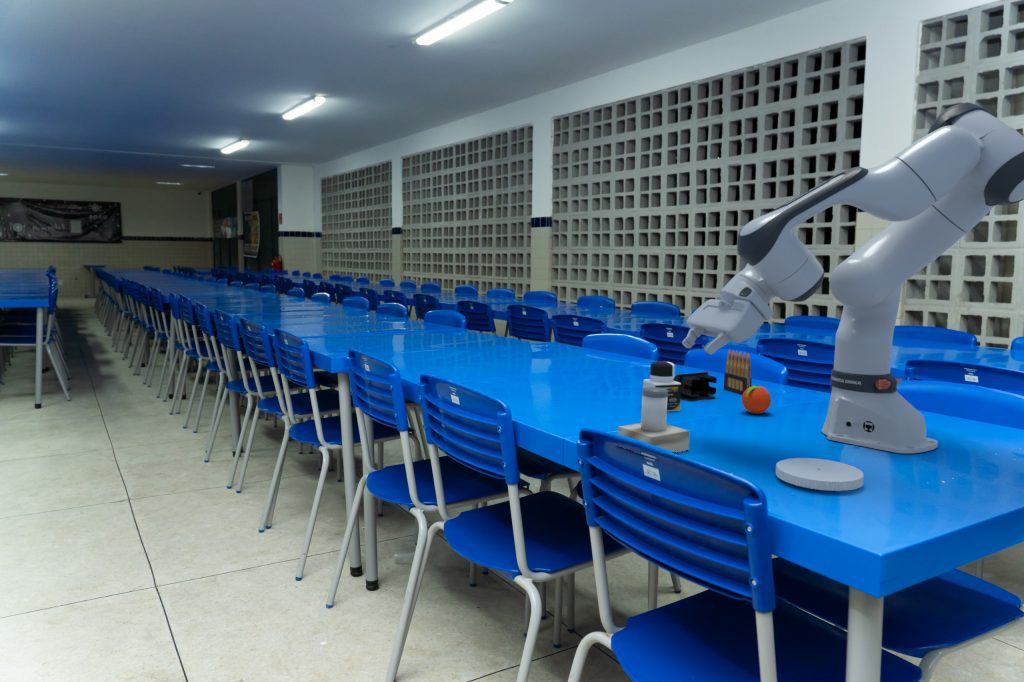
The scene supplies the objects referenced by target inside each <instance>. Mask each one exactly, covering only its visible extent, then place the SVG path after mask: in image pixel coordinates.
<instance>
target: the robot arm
mask: <svg viewBox="0 0 1024 682" xmlns="http://www.w3.org/2000/svg"><path fill="white" fill-rule="evenodd" d="M1022 201H1024V136H1023V135H1022V134H1021V133H1020V132H1019V131H1017V130H1016V129H1015V128H1014V127H1013V126H1009V125H1008V124H1007V123H1005V122H1003V121H1002V120H1001V119H999V118H997V117H995V116H994V115H992V114H991V113H989V112H988V111H987V110H986V108H984V107H982V106H980V105H978V104H975V103H972V102H962V103H958V104H954V105H952V106H949V107H948V108H946V109H945V110H943V111H942V112H941V113H940V114H939V115H938V116H936V118H935V120H933V122H932V123H931V124H930V127H929V129H928V132H927V134H926V135H924V136H923V137H921V138H919V139H918V140H916V141H915V142H913V143H911V144H910V145H908V146H907V147H905V148H904V149H902V150H901V151H900V152H899V153H897V154H895V156H894V157H892V158H890V159H889V160H887V161H886V162H884V163H882V164H879V165H878V166H874V167H870V168H865V167H863V166H855V167H850V168H848V169H845V170H843V171H842V172H839V173H837V174H835V175H833V176H831V177H830V178H828V179H826V180H824V181H822V182H821V183H819V184H817V185H815V186H814V187H812V188H810V189H808V190H807V191H805V192H803V193H802V194H801V193H800V194H799V195H798V196H796V197H794V198H792V199H791V200H789V201H787V202H786V203H784V204H782V205H780V206H779V207H777V208H775V209H772V210H770V211H767V212H766V213H763V214H762V215H759V216H758V217H755V218H754V219H751V220H750V221H749V222H748V223H746V224H745V225H744V226H743V227H742V228H741V229H740V230H739V231H738V236H737V240H736V248H737V249H736V250H737V255H738V256H739V257H741V259H743V260H744V261H745V262H746V264H745V267H744V268H743V269H742V270H741V271H739V272H737V273H736V274H735V275H734V276H733V277H732V278H731V279H729V281H728V282H727V283H726V285H724V287H723V288H722V289H721V290H720V291H719V293H718V295H719V297H716V298H715V299H713V298H710V299H707V300H706V301H704V302H703V303H702V304H701V305H700V306H698V308H697V309H696V310H694V311H693V312H692V314H690V316H688V318H687V319H686V321H685V322H686V325H687V326H688V327H689V330H688V333H687V335H686V337H685V338H684V339H683V340H682V342H681V345H682V346H684V348H687V349H692V347H693V346H695V344H696V342H695V341H696V340H697V338H700V336H702V335H704V336H708V337H712V338H714V339H713V340H712V341H708V342H707V343H706V344H705V345H704V347H703V350H704V352H705V353H706V354H709V355H713V354H715V353H716V352H717V351H718V350H719V349H720V348H723V347H725V346H726V345H727V344H729V342H734V343H739V344H740V343H744V342H746V341H747V340H749V339H750V338H751V337H752V336H753V335H754V334H755V333H756V332H757V331H758V330H759V329H760V328H761V327H762V325H764V322H765V321H768V320H770V319H771V318H772V317H773V316H774V315H775V312H774V311H773V309H772V308H771V307H770V306H769V304H770V302H771V300H772V299H773V298H775V297H777V298H779V300H782V301H787V302H793V303H797V302H798V303H800V302H801V303H802V302H805V301H806V300H808V299H809V298H811V297H812V296H813V295H814V294H815V293H816V292H817V291H818V290H819V289H820V287H821V286H822V284H823V281H824V278H825V270H824V268H823V266H822V264H821V263H820V262H819V261H818V259H817V258H816V257H815V256H814V255H813V253H812V252H811V251H810V250H809V249H808V248H807V247H806V245H805V244H804V242H802V240H800V239H799V238H798V236H797V235H796V234H795V233H794V232H793V229H794V228H795V227H797V226H798V225H800V224H802V223H804V222H805V221H807V220H809V219H811V218H812V217H815V216H816V215H819V214H820V213H822V212H824V211H826V210H827V209H829V208H831V207H833V206H836V205H837V206H838V205H849V206H852V207H854V208H857V209H858V210H860V211H863V212H865V213H867V214H869V215H871V216H873V217H875V218H878V219H881V220H884V221H887V222H892V223H890V224H889V225H888V226H886V228H884V229H883V230H881V231H880V232H879V233H877V234H876V235H875V236H874V237H872V238H871V239H869V240H868V241H867V242H866V243H864V244H863V245H862V246H860V247H859V248H858V249H856V250H855V251H854V252H853V253H852V254H851V255H850V256H848V257H846V258H845V259H844V260H843V261H842V262H841V263H839V264H838V265H837V266H836V267H835V268H834V270H833V271H832V273H831V275H830V278H829V279H830V280H829V288H830V291H831V295H833V296H834V298H835V299H836V300H837V301H838V302H839V303H840V304H842V305H843V308H842V312H841V317H840V321H839V324H838V328H837V330H836V332H835V340H834V341H835V342H834V343H835V345H834V355H833V356H834V357H833V368H832V369H831V373H830V382H829V383H830V385H829V386H830V393H831V395H830V400H829V403H828V404H829V405H828V409H827V414H826V418H825V421H824V424H823V427H822V429H821V433H823V434H824V435H826V437H827V439H828V440H830V441H833V442H834V441H835V442H838V443H839V442H840V443H844V444H851V445H854V446H860V447H864V448H870V449H876V450H881V451H887V452H892V453H896V454H919V453H924V452H925V453H926V452H930V451H933V450H935V449H937V448H938V447H939V441H938V440H936V439H935V438H930V437H927V426H926V422H925V417H924V414H922V413H921V412H920V411H919V410H917V408H915V406H914V405H912V404H911V403H910V402H909V401H908V400H906V399H905V398H904V397H903V396H902V395H901V394H900V393H899V392H898V388H897V386H898V385H901V384H902V383H903V382H901V381H903V378H895V377H894V376H893V373H891V367H892V366H891V365H892V350H893V339H894V334H895V333H894V331H895V326H896V322H897V317H898V312H899V308H900V301H901V294H902V287H903V284H904V283H905V282H906V281H908V280H909V279H911V278H913V277H914V276H915V275H916V274H918V273H919V272H920V271H921V270H923V269H925V267H927V266H929V265H931V264H932V263H933V262H935V261H936V260H937V259H938V258H940V257H941V256H942V255H943V254H944V253H945V252H946V251H947V250H948V249H950V248H952V246H954V245H955V244H956V243H957V242H958V241H960V239H962V238H963V237H964V236H965V235H966V234H967V233H969V232H971V230H972V229H973V228H975V227H976V226H977V224H978V223H980V222H981V221H982V220H983V219H984V218H985V217H986V216H987V215H988V214H989V213H990V211H992V209H993V208H994V207H995V206H1008V205H1013V204H1018V203H1019V202H1022Z"/></svg>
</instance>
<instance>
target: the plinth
mask: <svg viewBox="0 0 1024 682" xmlns="http://www.w3.org/2000/svg"><path fill="white" fill-rule="evenodd" d="M617 429H618V431H617V435H618V434H619V435H622V436H626V437H629V438H633V439H636V440H639V441H643V442H645V443H648V444H651V445H654V446H657V447H660V448H663V449H666V450H669V451H673V452H676V453H675V454H677V452H678V453H682V451H683V452H687V451H686V450H688V451H689V450H690V430H688V429H685V428H680V427H677V426H674V425H671V424H667V423H666V430H665V431H660V432H653V431H646V430H643V429H641V422H640V423H633V424H627V425H626V424H625V425H619V426H618V427H617Z"/></svg>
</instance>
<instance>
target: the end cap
mask: <svg viewBox="0 0 1024 682" xmlns="http://www.w3.org/2000/svg"><path fill="white" fill-rule="evenodd" d="M717 379H718V378H717V376H713V375H710V374H709V372H708V371H703V372H692V373H691V372H690V373H680V374H676V375H675V376H674V379H673V380H674V381H676V382H679V383H681V400H683V401H687V402H697V401H706V400H715V399H716V396H715V395H716V394H717V387H713V386H711V385H710V383H712V384H717V381H718V380H717Z"/></svg>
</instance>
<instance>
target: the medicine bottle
mask: <svg viewBox="0 0 1024 682" xmlns="http://www.w3.org/2000/svg"><path fill="white" fill-rule="evenodd" d="M649 365H650V370H649V372H650V373H649V378H645V379H643V386H642V389H643V388H646V387H657V388H664V389H667V390H668V397H667V412H679V411H680V410H681V400H682V399H681V383H679V382H676V381H674V380H673V379H674V377H675V376H676V375H675V371H676V365H675V364H674V363H673V362H670V361H665V360H664V361H662V360H660V361H659V360H658V361H653V362H651V363H650V364H649Z"/></svg>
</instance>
